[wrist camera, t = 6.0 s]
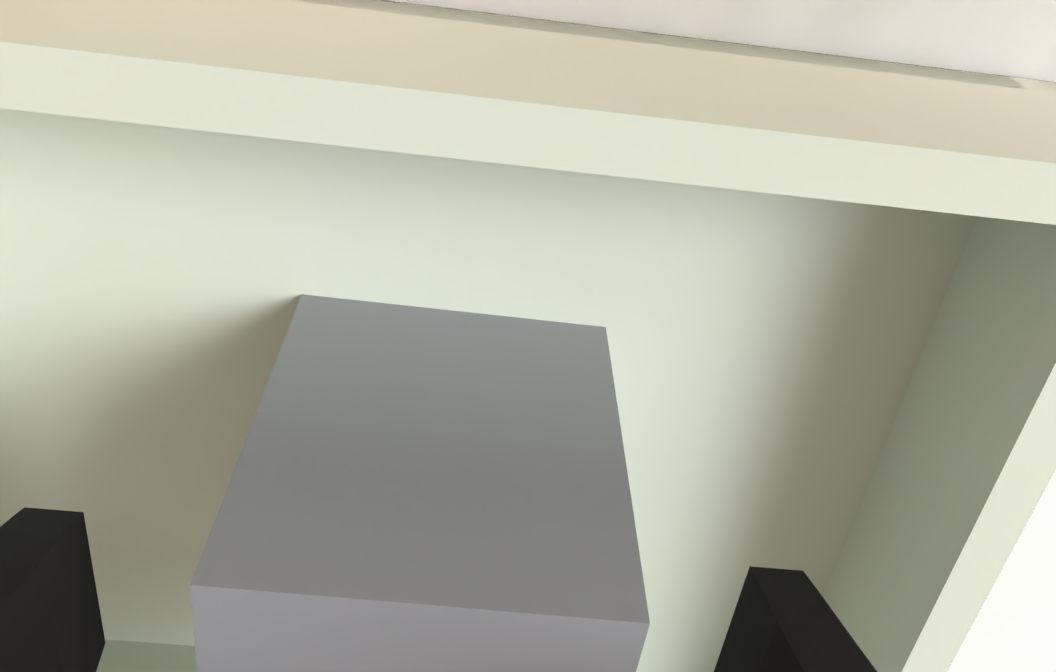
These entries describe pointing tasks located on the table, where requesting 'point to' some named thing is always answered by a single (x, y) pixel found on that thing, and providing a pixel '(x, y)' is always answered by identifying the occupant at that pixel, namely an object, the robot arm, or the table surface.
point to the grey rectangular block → (426, 503)
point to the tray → (538, 284)
